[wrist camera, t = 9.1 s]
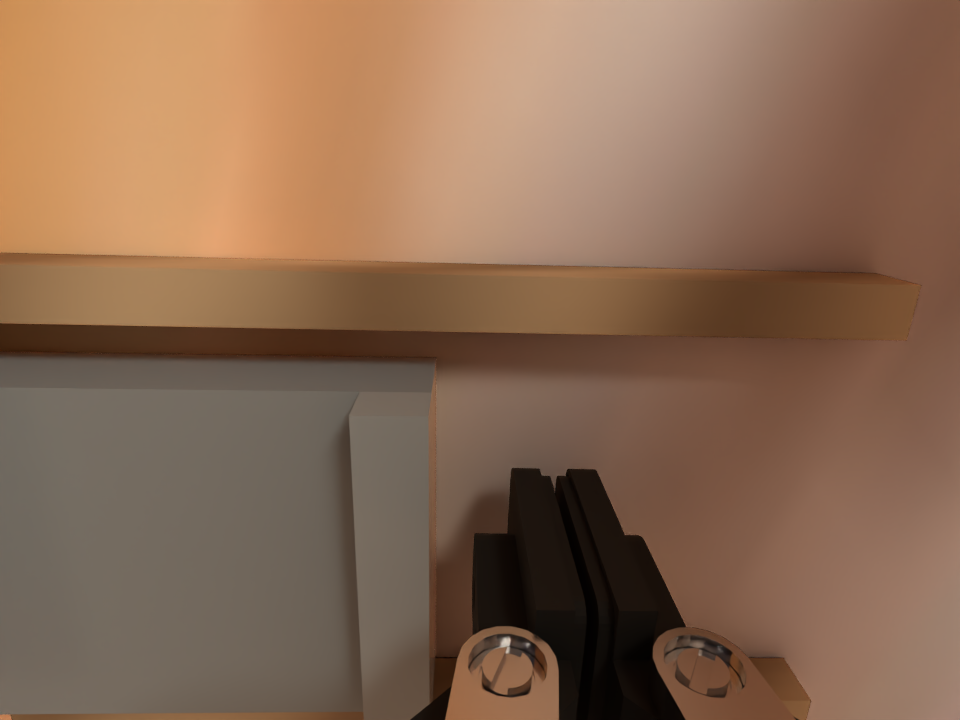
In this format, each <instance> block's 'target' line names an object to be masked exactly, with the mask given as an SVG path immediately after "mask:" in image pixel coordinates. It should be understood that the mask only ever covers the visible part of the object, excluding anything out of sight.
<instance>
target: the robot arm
mask: <svg viewBox="0 0 960 720" xmlns="http://www.w3.org/2000/svg"><path fill="white" fill-rule="evenodd" d="M472 618H473V636H471V637H470V638H469V639H468V640H467V641H466V642H465V643H464V644H463V646H462V648H461V650H460V653H459V655H458V658H457V663H456V668H455V673H454V678H453V683H452V686H451V687H449V688H448V689H447V690H446V691H445V692H443V693H442V694H441V695H440V696H438V697H437V698H436V699H435V700H434V701H432V702H431V703H430V704H429V705H428V706H426V707H425V708H424V709H423V710H421V711H420V712H419V713H418V714H417V715H415V716H414V717H413V718H412V719H410V720H799V719H797V718H795V717H794V716H793V715H792V714H791V713H790V711H789V710H788V709H787V707H786V706H785V705H784V703H783V702H782V701H781V700H780V698H779V697H778V696H777V694H776V693H775V692H774V690H773V689H772V688H771V687H770V685H769V684H768V683H767V681H766V680H765V679H764V677H763V676H762V675H761V673H760V672H759V671H758V670H757V668H756V667H755V666H754V664H753V663H752V662H751V660H750V659H749V658H748V657H747V656H746V655H745V654H744V653H743V652H742V651H741V650H740V649H739V648H738V647H737V646H736V645H734V644H733V643H731V642H730V641H728V640H727V639H725V638H724V637H721V636H719V635H717V634H715V633H712V632H710V631H706V630H702V629H698V628H686V626H685V624H684V622H683V620H682V618H681V615H680V613H679V611H678V609H677V607H676V605H675V603H674V601H673V599H672V597H671V595H670V593H669V591H668V589H667V586H666V584H665V582H664V580H663V578H662V576H661V574H660V572H659V570H658V568H657V566H656V564H655V562H654V560H653V558H652V555H651V553H650V551H649V549H648V547H647V545H646V543H645V541H644V540H643V538H642V537H641V536H639V535H625V534H624V532H623V530H622V528H621V525H620V523H619V521H618V519H617V516H616V514H615V512H614V509H613V507H612V505H611V503H610V500H609V498H608V496H607V493H606V491H605V489H604V487H603V484H602V482H601V480H600V477H599V475H598V473H597V471H596V470H594V469H568V470H567V472H566V476H557V479H556V488H555V492H554V488H553V485H552V481H551V478H550V476H541V472H540V469H534V468H512V470H511V479H510V497H509V514H508V532H507V534H488V533H475V534H474V549H473V581H472Z"/></svg>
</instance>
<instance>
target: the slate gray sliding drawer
mask: <svg viewBox="0 0 960 720" xmlns="http://www.w3.org/2000/svg"><path fill="white" fill-rule="evenodd" d="M435 649H436V357H370V356H298V355H226V354H154V353H82V352H10V351H0V714H132V713H266V712H363V714H364V720H410V719H412V718H413V717H414V716H415V715H417V714H418V713H419V712H420V711H421V710H423V709H424V708H425V707H426V706H428V705H429V704H430V703H431V702H432V701H433V686H434V668H435Z"/></svg>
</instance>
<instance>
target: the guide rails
mask: <svg viewBox="0 0 960 720" xmlns="http://www.w3.org/2000/svg"><path fill="white" fill-rule="evenodd" d="M920 288H921V285H918V284H914V283H910V282H907V281H903V280H899V279H895V278H891V277H888V276H884V275H880V274H876V273H842V272H800V271H757V270H714V269H671V268H628V267H585V266H542V265H499V264H456V263H413V262H371V261H328V260H285V259H242V258H199V257H156V256H113V255H70V254H27V253H0V323H16V324H68V325H121V326H173V327H225V328H278V329H330V330H382V331H435V332H487V333H539V334H592V335H644V336H696V337H749V338H801V339H853V340H906V341H907V337H908V334H909V330H910V326H911V322H912V318H913V315H914V311H915V307H916V303H917V300H918V296H919V292H920ZM749 659H750V660H751V662H752V663H753V664H754V666H755V667H756V668H757V670H758V671H759V672H760V673H761V675H762V676H763V677H764V679H765V680H766V681H767V683H768V684H769V685H770V687H771V688H772V689H773V690H774V692H775V693H776V694H777V696H778V697H779V698H780V700H781V701H782V702H783V703H784V705H785V706H786V707H787V709H788V710H789V711H790V713H791V714H792V715H793V716H794V717H795V718H797V719H799V720H806V718H807V714H808V710H809V707H810V703H811V700H810V698H809V697H808V695H807V693H806V692H805V690H804V689H803V687H802V686H801V684H800V683H799V681H798V680H797V678H796V677H795V675H794V673H793V672H792V670H791V669H790V667H789V666H788V664H787V663H786V661H785V660H784V658H749ZM456 663H457V658H435V668H434V686H433V701H434V700H435V699H436V698H437V697H438V696H440V695H441V694H442V693H443V692H445V691H446V690H447V689H448V688H449V687H451V686H452V683H453V678H454V673H455V668H456ZM10 715H11V718H12V720H364V714H363V712H266V713H132V714H10Z"/></svg>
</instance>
